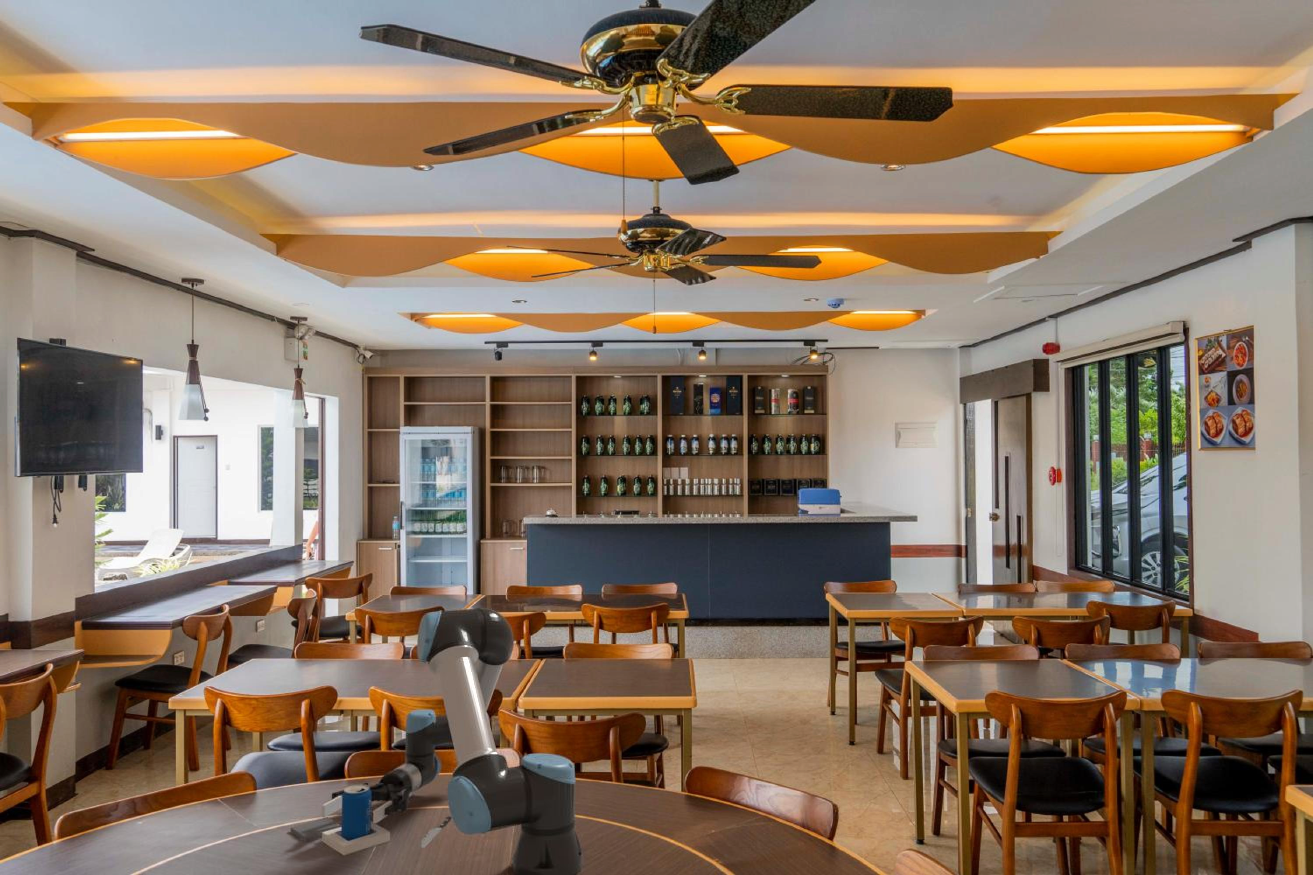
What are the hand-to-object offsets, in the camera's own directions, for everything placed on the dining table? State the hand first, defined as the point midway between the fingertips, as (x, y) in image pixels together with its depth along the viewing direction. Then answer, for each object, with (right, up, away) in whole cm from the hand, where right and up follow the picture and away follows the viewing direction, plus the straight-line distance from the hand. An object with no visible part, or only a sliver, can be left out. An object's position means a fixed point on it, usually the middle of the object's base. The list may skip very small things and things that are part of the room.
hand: (348, 813), depth 196 cm
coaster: (-10, -8, +8) cm, 15 cm away
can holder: (+1, -7, +2) cm, 8 cm away
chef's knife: (+17, -8, +7) cm, 20 cm away
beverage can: (+1, -8, +2) cm, 8 cm away
